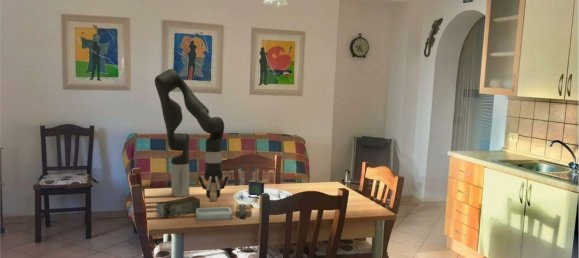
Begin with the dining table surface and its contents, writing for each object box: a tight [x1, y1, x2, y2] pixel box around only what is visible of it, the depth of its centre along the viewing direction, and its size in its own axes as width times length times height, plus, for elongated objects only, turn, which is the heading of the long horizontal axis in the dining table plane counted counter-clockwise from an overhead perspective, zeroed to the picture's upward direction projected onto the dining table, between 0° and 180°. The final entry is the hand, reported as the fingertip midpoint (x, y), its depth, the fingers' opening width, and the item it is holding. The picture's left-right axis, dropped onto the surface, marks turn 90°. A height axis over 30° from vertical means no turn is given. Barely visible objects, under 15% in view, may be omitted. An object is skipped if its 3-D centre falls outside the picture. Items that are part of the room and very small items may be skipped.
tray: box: [195, 206, 233, 221], centre depth 218 cm, size 11×16×2 cm
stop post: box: [238, 203, 247, 220], centre depth 216 cm, size 3×3×6 cm
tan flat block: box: [235, 204, 252, 218], centre depth 223 cm, size 10×7×3 cm
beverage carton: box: [156, 196, 201, 218], centre depth 222 cm, size 8×19×7 cm, turn 130°
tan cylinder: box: [208, 182, 218, 203], centre depth 216 cm, size 4×4×9 cm
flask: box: [247, 177, 265, 196], centre depth 251 cm, size 9×3×11 cm, turn 65°
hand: (213, 197), depth 217 cm, fingers closed on tan cylinder, 3 cm apart
